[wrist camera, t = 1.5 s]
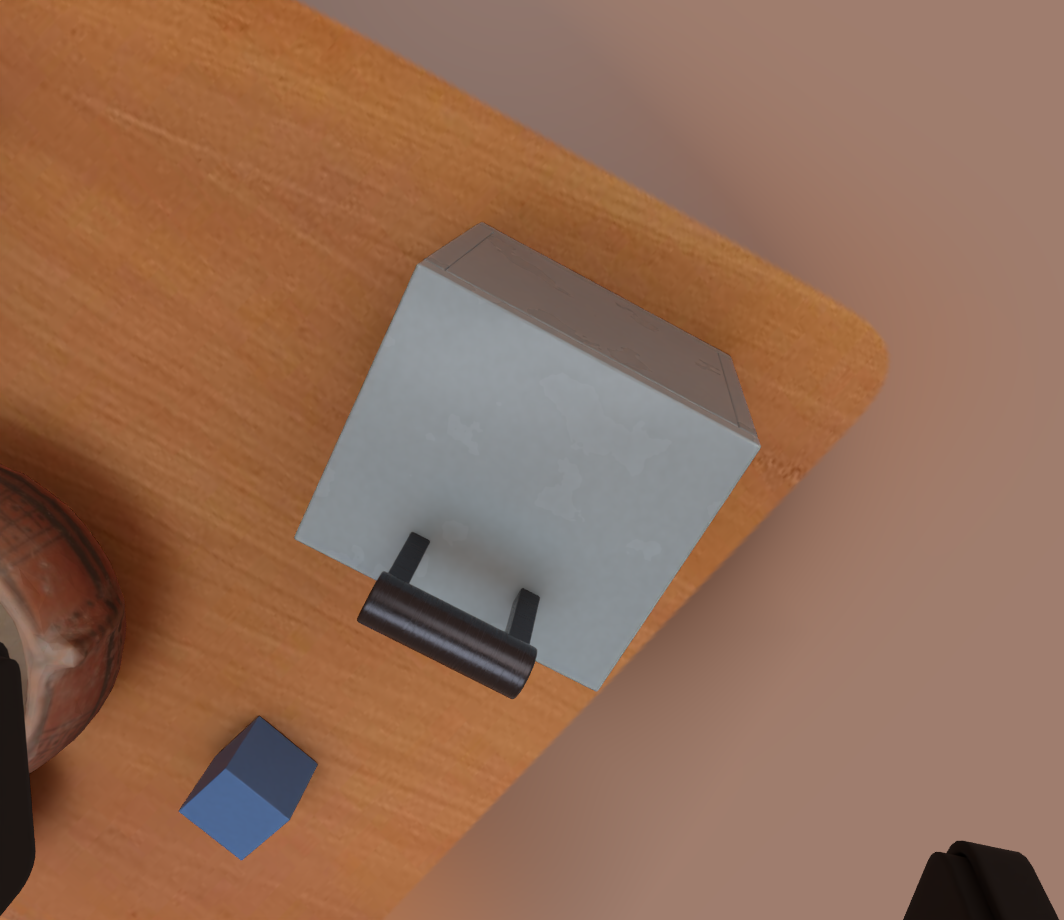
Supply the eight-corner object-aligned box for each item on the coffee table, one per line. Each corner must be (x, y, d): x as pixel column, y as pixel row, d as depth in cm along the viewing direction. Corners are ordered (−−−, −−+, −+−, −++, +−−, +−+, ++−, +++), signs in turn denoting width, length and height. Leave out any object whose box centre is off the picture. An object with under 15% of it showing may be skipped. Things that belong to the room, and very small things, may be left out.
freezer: (618, 537, 40) (609, 661, 31) (388, 417, 39) (310, 509, 30) (731, 356, 36) (759, 437, 27) (480, 221, 35) (423, 258, 26)
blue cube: (214, 756, 47) (177, 811, 43) (259, 715, 46) (225, 768, 42) (273, 803, 48) (241, 861, 44) (318, 763, 46) (289, 820, 43)
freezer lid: (598, 679, 31) (588, 789, 26) (301, 529, 30) (232, 611, 25) (759, 437, 27) (784, 511, 22) (423, 258, 26) (370, 292, 21)
